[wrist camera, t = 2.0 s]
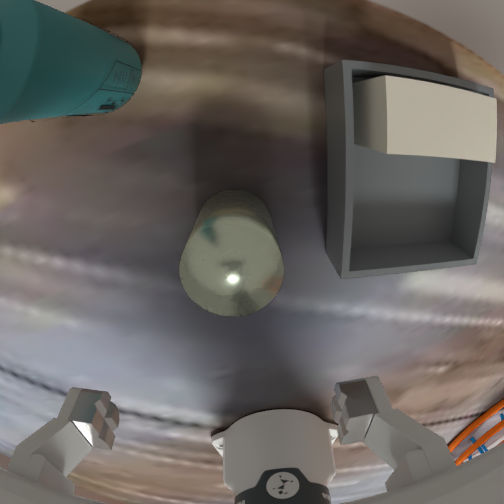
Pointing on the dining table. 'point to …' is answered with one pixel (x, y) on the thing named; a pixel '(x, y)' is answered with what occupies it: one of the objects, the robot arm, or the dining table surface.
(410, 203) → the tote
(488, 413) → the orange spiral coil rods
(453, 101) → the cream rectangular block
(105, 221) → the dining table surface
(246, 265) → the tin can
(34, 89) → the beverage bottle
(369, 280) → the dining table surface
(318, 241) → the dining table surface
